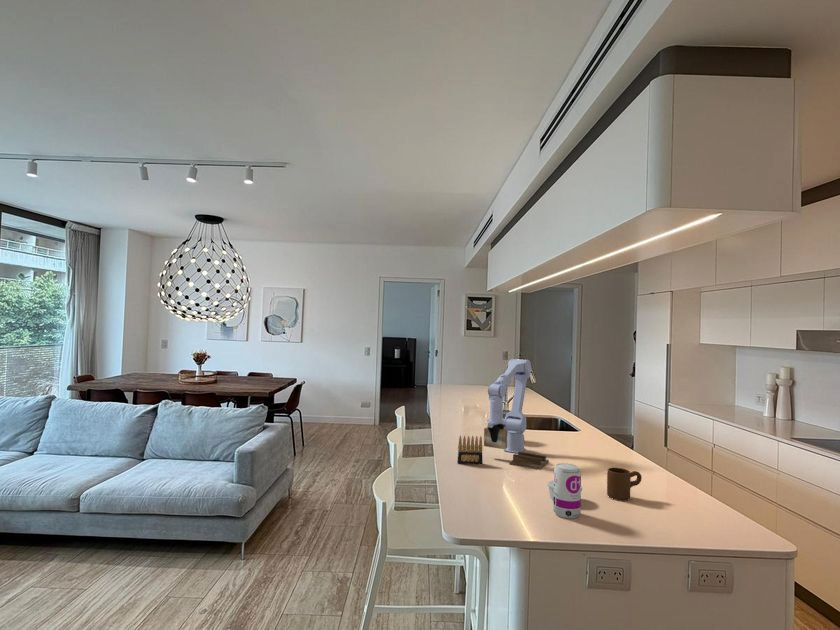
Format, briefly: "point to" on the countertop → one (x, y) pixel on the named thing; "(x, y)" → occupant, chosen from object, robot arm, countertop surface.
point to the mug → (621, 483)
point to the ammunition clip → (470, 451)
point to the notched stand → (529, 460)
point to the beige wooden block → (501, 439)
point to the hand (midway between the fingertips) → (495, 441)
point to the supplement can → (567, 490)
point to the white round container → (551, 489)
